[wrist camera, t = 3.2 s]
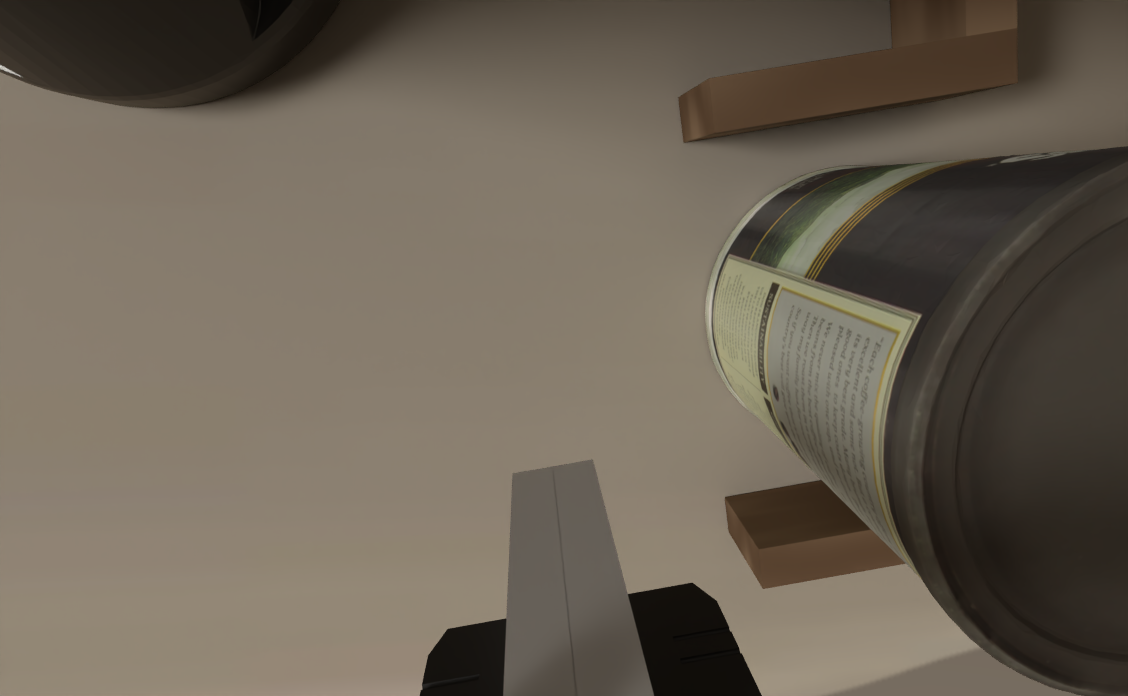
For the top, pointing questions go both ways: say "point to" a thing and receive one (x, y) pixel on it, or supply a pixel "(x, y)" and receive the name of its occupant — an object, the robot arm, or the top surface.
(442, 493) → the top surface
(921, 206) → the coffee can
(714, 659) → the robot arm
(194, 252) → the top surface
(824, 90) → the wooden compartment tray
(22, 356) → the top surface
